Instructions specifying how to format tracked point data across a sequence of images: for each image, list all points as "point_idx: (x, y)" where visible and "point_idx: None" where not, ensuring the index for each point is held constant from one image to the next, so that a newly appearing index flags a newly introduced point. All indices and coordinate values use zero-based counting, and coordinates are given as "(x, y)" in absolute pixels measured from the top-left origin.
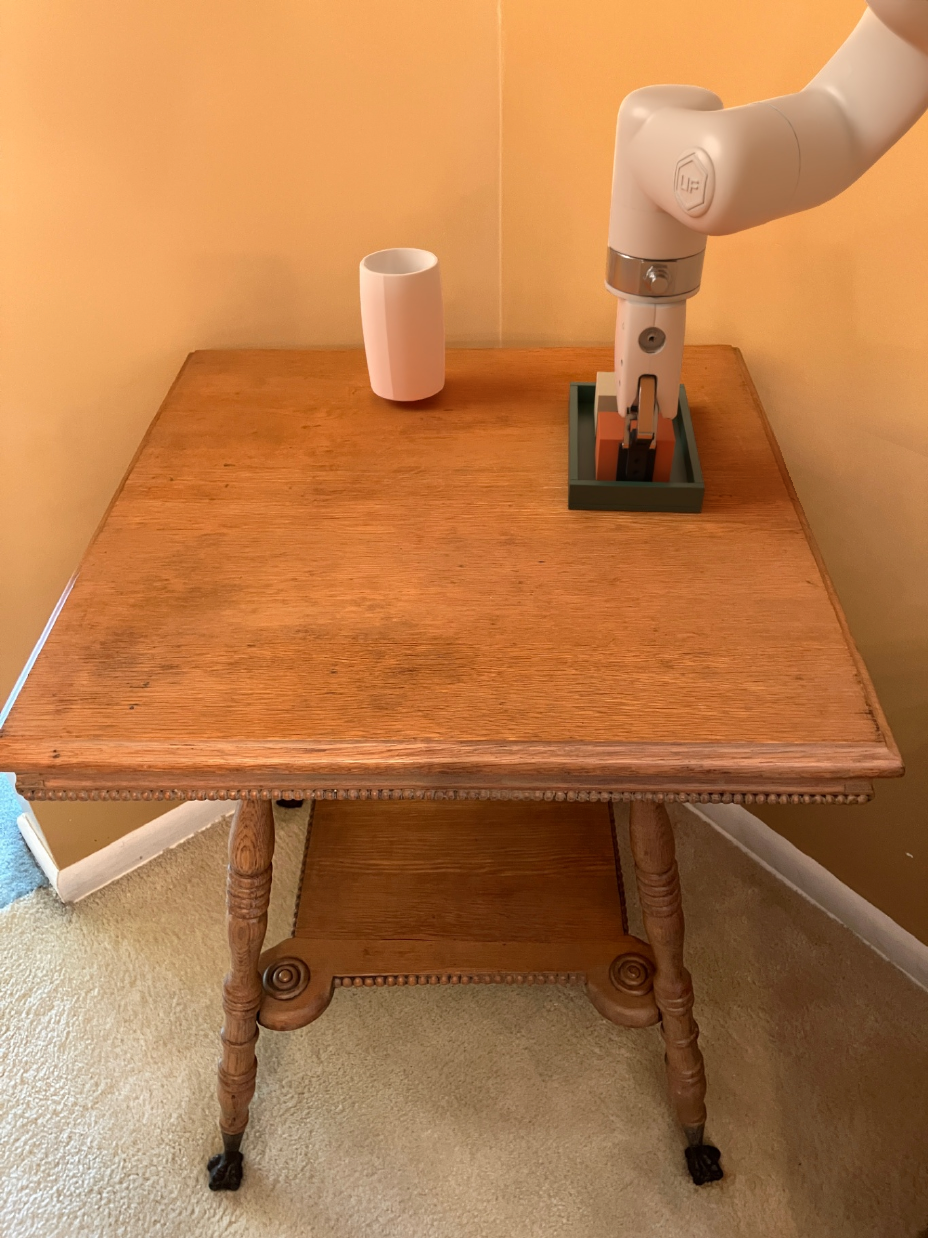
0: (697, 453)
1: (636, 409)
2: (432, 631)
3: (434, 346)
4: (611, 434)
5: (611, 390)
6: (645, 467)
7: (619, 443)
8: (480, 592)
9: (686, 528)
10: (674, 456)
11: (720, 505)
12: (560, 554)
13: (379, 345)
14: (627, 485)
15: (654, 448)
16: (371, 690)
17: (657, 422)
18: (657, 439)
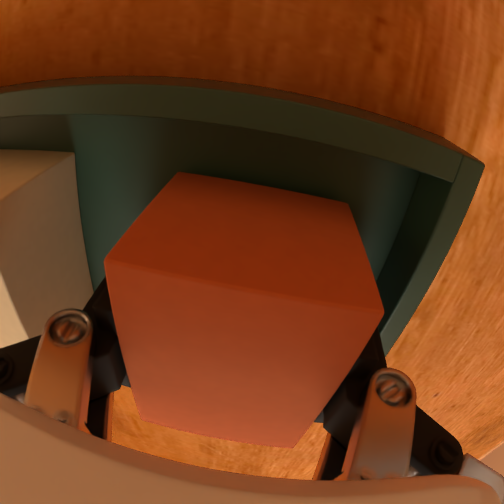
0: (260, 98)
1: (114, 365)
2: (460, 437)
3: None
4: (276, 435)
5: (15, 341)
6: (378, 333)
7: (315, 421)
8: (443, 425)
9: (480, 195)
10: (164, 132)
11: (422, 69)
12: (436, 381)
13: None
14: (391, 346)
15: (412, 384)
16: (480, 445)
17: (407, 471)
18: (348, 364)
